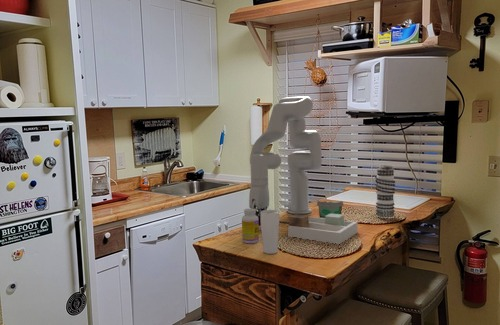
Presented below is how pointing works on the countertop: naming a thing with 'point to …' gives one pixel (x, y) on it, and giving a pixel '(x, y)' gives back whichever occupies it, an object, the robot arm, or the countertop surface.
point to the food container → (329, 208)
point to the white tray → (324, 231)
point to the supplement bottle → (250, 226)
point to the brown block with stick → (297, 221)
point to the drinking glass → (270, 230)
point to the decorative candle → (385, 191)
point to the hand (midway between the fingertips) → (260, 223)
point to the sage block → (334, 219)
